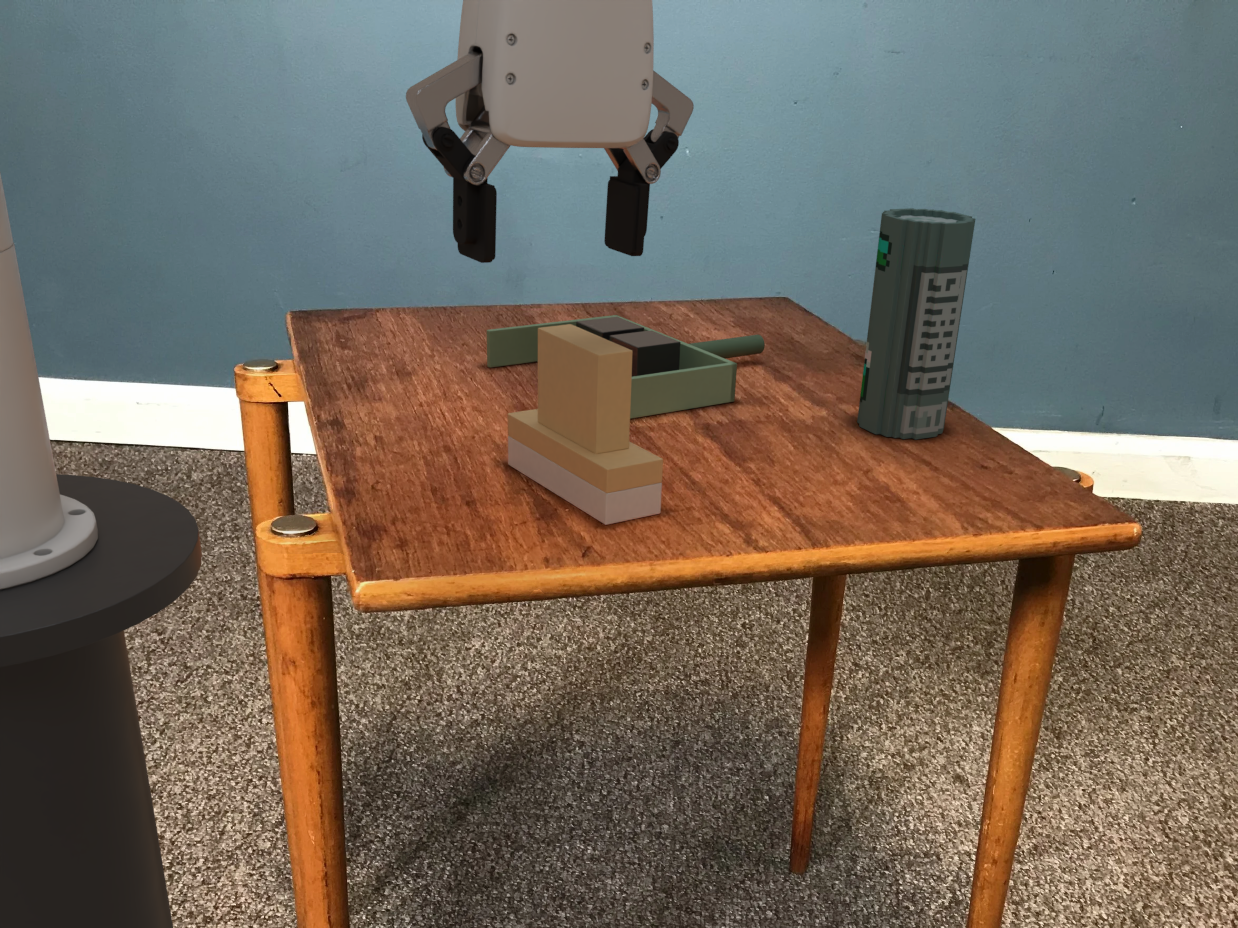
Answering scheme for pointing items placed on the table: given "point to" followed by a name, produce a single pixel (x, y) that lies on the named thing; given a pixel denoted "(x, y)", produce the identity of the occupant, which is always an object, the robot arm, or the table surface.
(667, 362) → the black cube
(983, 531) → the table surface
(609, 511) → the wooden block stamp
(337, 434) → the table surface
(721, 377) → the green u-shaped rake
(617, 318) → the black metallic cube
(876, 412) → the can
